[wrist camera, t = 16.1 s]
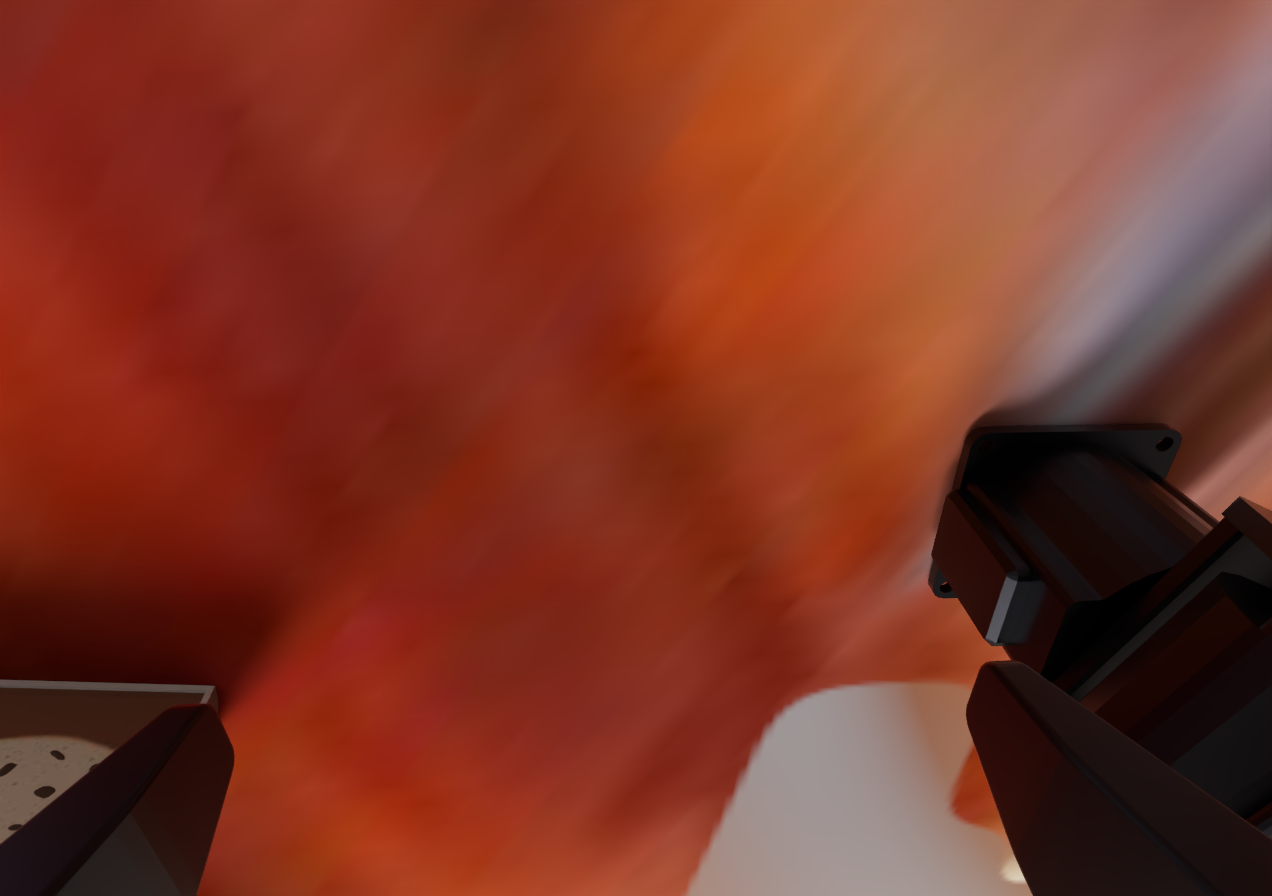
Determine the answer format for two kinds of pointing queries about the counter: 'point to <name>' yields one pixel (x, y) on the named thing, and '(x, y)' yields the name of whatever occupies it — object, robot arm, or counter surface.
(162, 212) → the counter surface
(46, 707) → the food container
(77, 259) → the counter surface
